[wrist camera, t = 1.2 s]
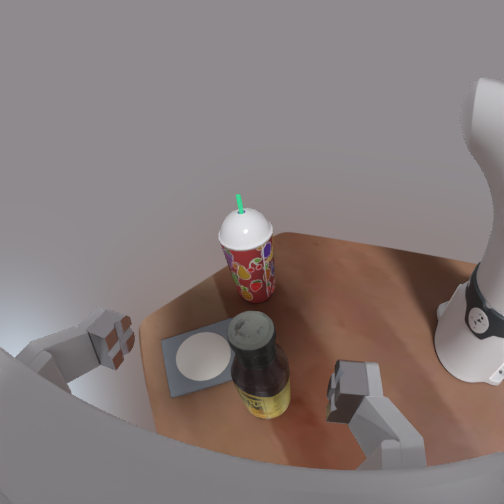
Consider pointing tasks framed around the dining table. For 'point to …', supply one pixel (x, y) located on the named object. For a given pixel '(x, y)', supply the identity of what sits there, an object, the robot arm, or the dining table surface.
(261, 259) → the smoothie
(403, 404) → the dining table surface
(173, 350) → the card
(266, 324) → the sauce bottle
